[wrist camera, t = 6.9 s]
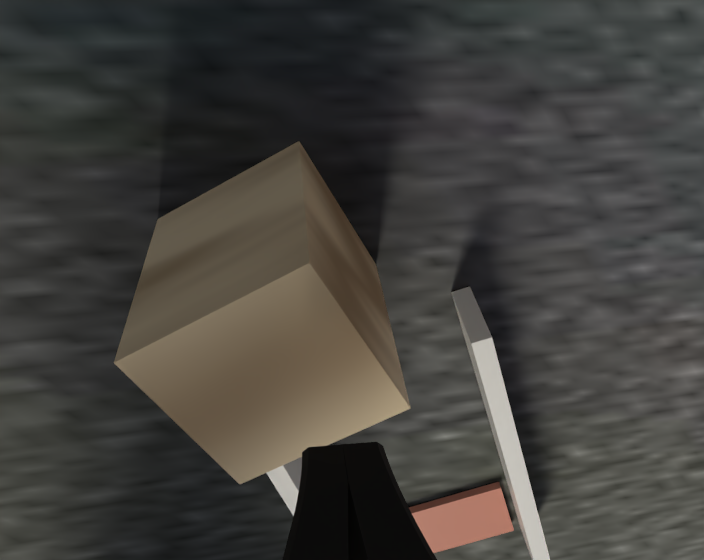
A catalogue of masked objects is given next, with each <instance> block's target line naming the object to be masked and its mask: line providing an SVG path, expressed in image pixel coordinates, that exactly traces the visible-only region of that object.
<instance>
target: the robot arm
mask: <svg viewBox="0 0 704 560" xmlns="http://www.w3.org/2000/svg"><path fill="white" fill-rule="evenodd" d="M283 560H437V559H436V557H435V555H434V554H433V552H432V550H431V548H430V546H429V545H428V543H427V541H426V539H425V537H424V536H423V534H422V532H421V530H420V528H419V527H418V525H417V523H416V521H415V519H414V517H413V515H412V513H411V511H410V509H409V507H408V505H407V503H406V501H405V499H404V497H403V495H402V493H401V491H400V488H399V486H398V484H397V482H396V479H395V477H394V475H393V472H392V470H391V467H390V465H389V462H388V459H387V457H386V454H385V451H384V448H383V446H382V445H381V444H379V443H378V442H369V443H356V444H343V445H330V446H317V447H308V448H307V449H305V450H304V451H303V452H302V470H301V479H300V486H299V492H298V498H297V503H296V508H295V513H294V517H293V522H292V526H291V530H290V533H289V537H288V541H287V545H286V549H285V552H284V556H283Z"/></svg>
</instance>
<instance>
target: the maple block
mask: <svg viewBox="0 0 704 560" xmlns="http://www.w3.org/2000/svg"><path fill="white" fill-rule="evenodd" d="M114 364H115V365H117V366H118V367H119V368H120V369H121V370H122V371H123V372H124V373H125V374H126V375H127V376H128V377H129V378H130V379H131V380H132V381H133V382H134V383H135V384H136V385H137V386H138V387H139V388H140V389H141V390H142V391H143V392H144V393H146V394H147V395H148V396H149V397H150V398H151V399H152V400H153V401H154V402H155V403H156V404H157V405H158V406H159V407H160V408H161V409H162V410H163V411H164V412H165V413H166V414H167V415H168V416H169V417H170V418H171V419H172V420H173V421H174V422H176V423H177V424H178V425H179V426H180V427H181V428H182V429H183V430H184V431H185V432H186V433H187V434H188V435H189V436H190V437H191V438H192V439H193V440H194V441H195V442H196V443H197V444H198V445H199V446H200V447H201V448H202V449H203V450H205V451H206V452H207V453H208V454H209V455H210V456H211V457H212V458H213V459H214V460H215V461H216V462H217V463H218V464H219V465H220V466H221V467H222V468H223V469H224V470H225V471H226V472H227V473H228V474H229V475H230V476H231V477H232V478H233V479H235V480H236V481H237V482H238V483H239V484H242V483H244V482H247V481H249V480H251V479H253V478H256V477H258V476H260V475H262V474H265V473H267V472H269V471H271V470H273V469H276V468H278V467H280V466H282V465H285V464H287V463H289V462H291V461H294V460H296V459H298V458H300V457H302V452H303V451H304V450H305V449H307V448H308V447H317V446H327V445H329V444H332V443H334V442H336V441H338V440H341V439H343V438H345V437H347V436H350V435H352V434H354V433H356V432H359V431H361V430H363V429H365V428H368V427H370V426H372V425H374V424H377V423H379V422H381V421H383V420H385V419H388V418H390V417H392V416H394V415H397V414H399V413H401V412H403V411H406V410H408V409H410V404H409V399H408V395H407V391H406V387H405V383H404V379H403V375H402V370H401V366H400V362H399V358H398V354H397V350H396V345H395V341H394V337H393V333H392V329H391V325H390V321H389V316H388V312H387V308H386V304H385V300H384V296H383V291H382V287H381V283H380V279H379V275H378V271H377V267H376V264H375V262H374V260H373V259H372V257H371V256H370V254H369V252H368V251H367V249H366V248H365V246H364V244H363V243H362V241H361V240H360V238H359V236H358V235H357V233H356V231H355V230H354V228H353V227H352V225H351V223H350V222H349V220H348V219H347V217H346V215H345V214H344V212H343V211H342V209H341V207H340V206H339V204H338V203H337V201H336V199H335V198H334V196H333V195H332V193H331V191H330V190H329V188H328V186H327V185H326V183H325V182H324V180H323V178H322V177H321V175H320V174H319V172H318V170H317V169H316V167H315V166H314V164H313V162H312V161H311V159H310V158H309V156H308V154H307V153H306V151H305V149H304V148H303V146H302V145H301V143H300V141H298V142H296V143H294V144H293V145H291V146H289V147H287V148H285V149H284V150H282V151H280V152H278V153H276V154H275V155H273V156H271V157H269V158H267V159H265V160H264V161H262V162H260V163H258V164H256V165H255V166H253V167H251V168H249V169H247V170H246V171H244V172H242V173H240V174H238V175H237V176H235V177H233V178H231V179H229V180H227V181H226V182H224V183H222V184H220V185H218V186H217V187H215V188H213V189H211V190H209V191H208V192H206V193H204V194H202V195H200V196H199V197H197V198H195V199H193V200H191V201H189V202H188V203H186V204H184V205H182V206H180V207H179V208H177V209H175V210H173V211H171V212H170V213H168V214H166V215H164V216H162V217H161V218H159V219H158V220H157V223H156V226H155V229H154V233H153V236H152V239H151V243H150V246H149V249H148V252H147V256H146V259H145V262H144V265H143V269H142V272H141V275H140V279H139V282H138V285H137V288H136V292H135V295H134V298H133V301H132V305H131V308H130V311H129V315H128V318H127V321H126V324H125V328H124V331H123V334H122V337H121V341H120V344H119V347H118V350H117V354H116V357H115V360H114Z"/></svg>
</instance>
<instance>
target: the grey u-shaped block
mask: <svg viewBox="0 0 704 560" xmlns="http://www.w3.org/2000/svg"><path fill="white" fill-rule="evenodd" d="M451 293H452V297H453V300H454V303H455V307H456V310H457V314H458V317H459V320H460V324H461V327H462V331H463V334H464V337H465V341H466V344H467V348H468V351H469V354H470V358H471V361H472V365H473V368H474V372H475V375H476V378H477V382H478V385H479V389H480V392H481V395H482V399H483V402H484V406H485V409H486V412H487V416H488V419H489V423H490V426H491V429H492V433H493V436H494V440H495V443H496V446H497V450H498V453H499V457H500V460H501V463H502V467H503V470H504V474H505V477H506V480H507V484H508V487H509V491H510V494H511V497H512V501H513V504H514V508H515V511H516V514H517V518H518V521H519V525H520V528H521V531H522V533H523V536H524V539H525V542H526V545H527V547H528V550H529V553H530V556H531V559H532V560H550V557H549V554H548V550H547V546H546V542H545V538H544V534H543V531H542V527H541V523H540V519H539V515H538V511H537V508H536V504H535V500H534V496H533V492H532V488H531V485H530V481H529V477H528V473H527V469H526V465H525V462H524V458H523V454H522V450H521V446H520V442H519V439H518V435H517V431H516V427H515V423H514V419H513V416H512V412H511V408H510V404H509V400H508V396H507V393H506V389H505V385H504V381H503V377H502V373H501V370H500V366H499V362H498V358H497V354H496V350H495V347H494V343H493V339H492V336H491V334H490V331H489V329H488V327H487V324H486V322H485V320H484V318H483V315H482V313H481V311H480V308H479V306H478V304H477V302H476V299H475V297H474V295H473V292H472V290H471V288H470V286H469V287H466V288H463V289H460V290H457V291H454V292H451ZM301 470H302V457H300V458H298V459H296V460H294V461H291V462H289V463H287V464H285V465H282V466H280V467H278V468H276V469H273V470H271V471H269V472H267V475H268V477H269V478H270V480H271V481H272V483H273V484H274V486H275V488H276V489H277V491H278V492H279V494H280V496H281V497H282V499H283V500H284V502H285V503H286V505H287V507H288V508H289V510H290V511H291V513H292V515H293V516H294V513H295V508H296V503H297V498H298V492H299V486H300V479H301ZM409 509H410V511H411V513H412V515H413V517H414V519H415V521H416V523H417V525H418V527H419V528H420V530H421V532H422V534H423V536H424V537H425V539H426V541H427V543H428V545H429V546H430V548H431V550H432V552H433V553H436V552H439V551H443V550H446V549H450V548H453V547H457V546H461V545H464V544H468V543H471V542H475V541H478V540H482V539H486V538H489V537H493V536H496V535H500V534H503V533H507V532H511V531H514V529H513V526H512V522H511V519H510V516H509V512H508V509H507V506H506V503H505V499H504V496H503V493H502V489H501V486H500V483H499V482H496V483H492V484H489V485H485V486H482V487H478V488H475V489H471V490H468V491H464V492H461V493H457V494H454V495H451V496H447V497H444V498H440V499H437V500H433V501H430V502H426V503H423V504H419V505H416V506H412V507H409Z"/></svg>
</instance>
